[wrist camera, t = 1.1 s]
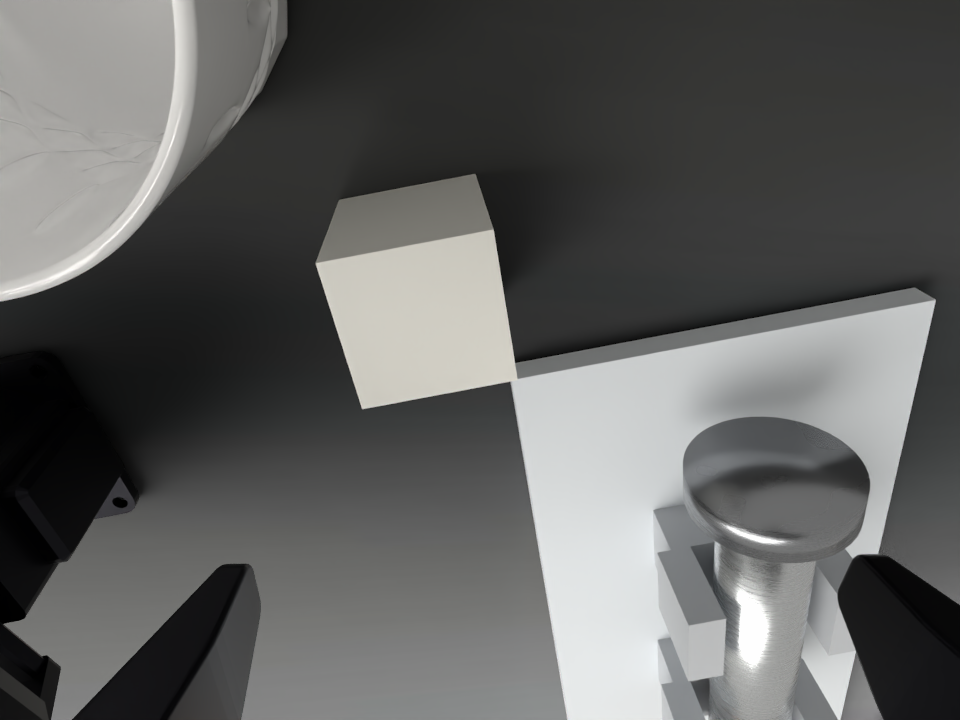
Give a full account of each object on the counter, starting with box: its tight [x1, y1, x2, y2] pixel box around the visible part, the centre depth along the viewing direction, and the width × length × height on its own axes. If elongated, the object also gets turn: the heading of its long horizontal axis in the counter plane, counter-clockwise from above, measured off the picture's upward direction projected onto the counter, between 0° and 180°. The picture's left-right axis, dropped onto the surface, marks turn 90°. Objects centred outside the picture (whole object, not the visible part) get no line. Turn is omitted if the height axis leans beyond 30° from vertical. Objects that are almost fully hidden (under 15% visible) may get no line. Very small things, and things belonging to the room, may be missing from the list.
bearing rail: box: [510, 288, 936, 720], centre depth 26 cm, size 14×30×6 cm, turn 9°
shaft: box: [683, 417, 870, 720], centre depth 23 cm, size 5×17×5 cm, turn 9°
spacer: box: [316, 174, 518, 409], centre depth 17 cm, size 4×4×5 cm
